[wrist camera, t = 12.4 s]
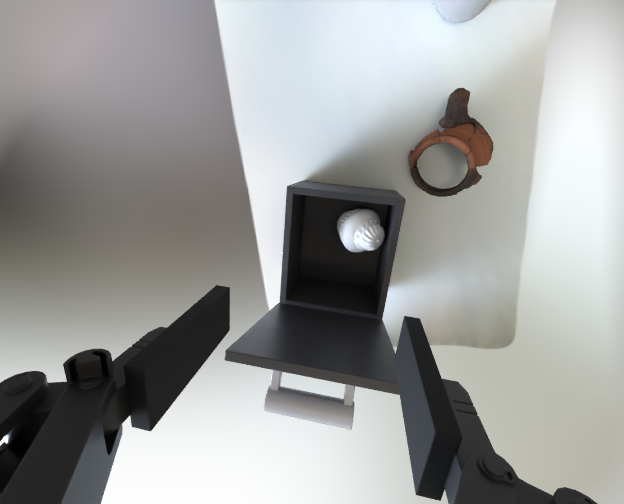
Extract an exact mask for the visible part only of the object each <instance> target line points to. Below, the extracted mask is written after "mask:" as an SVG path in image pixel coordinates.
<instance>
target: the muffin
mask: <svg viewBox="0 0 624 504" xmlns="http://www.w3.org/2000/svg"><path fill="white" fill-rule="evenodd" d="M337 230H338V233H339V236H340V239H341V241H342V242H343V244H344V246H345V247H346V248H347V249H348V250H349V251H351V252H363V251H365V250H368V251H370V250H375V249H377V248H379V247H380V245H381V244H382V241H384V239H383V238H384V237H385V235H384V233H385V232H384V230H383V227H381V226H380V218H379V216H378V215H377V214H376V213H375V212H374V211H373V210H370V209H355V210H351V211H347V212H344V213H343V214H342V215H341V216H340V217H339V219H338V221H337Z"/></svg>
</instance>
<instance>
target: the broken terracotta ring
mask: <svg viewBox="0 0 624 504" xmlns="http://www.w3.org/2000/svg"><path fill="white" fill-rule="evenodd" d="M469 96H470V92H469V91H468V90H466V89H464V88H458V89H456V90H455V91H454V92H453V93H452V94H451V95H450V97H449V99H448V104H447V108H446V113H445V116H444V118H442V119H441V120H440V121H439V125H440V126H441V127H442V128H444V129H446V130H444V131H443V132H441V133H440V132H439V130H438V129H436V130H434V131H433V132H431V133H430V134H429V135H427V136H426V137H424V138H423V139H422V140H421V141H420V143H418V145H417V146H416V147H415V149H414V150H412V151H410V155H409V166H410V171H411V176H412V178H413V180H414V181H415V183H416V185H417V186H418V187H419V188H420V189H422V190H423V191H426V192H427V193H428V194H430V195H434V196H439V197H446V196H452V195H456V194H457V193H458V192H460V191H462V190H463V189H466V188H469V187H471V186H472V185H475V184H477V183H478V182H479V181H480V179H481V177H482V176H481V175H479V173H478V172H477V170H476V167H477V166H483V165H488V163H489V161H490V160H491V155H492V151H493V142H492V140H491V138H490V136H489V134H488V133H487V132H486V130H485V129H484V128H483V126H482V125H481V124H480V123H479V122H477V121H476V120H475V119H474V118H470V117H469V115H468V108H467V105H468V101H469ZM438 143H448V144H452V145H454V146H456V147H458V148H459V149H460V150H461V151H462V152H463V153H464V155H465V156H466V159H467V162H468V171H467V174H466V176H465V178H464V179H463V181H462V182H461V183H460V184H458V185H457V186H455V187H452V188H448V189H438V188H435V187H432V186H430V185H429V184H427V183H426V182H425V181H424V180H423V179H422V178H421V176H420V174H419V171H418V168H417V159H419V157H420V156H421V154H422V153H423V151H424V150H425V149H427V148H428V147H430V146H432V145H434V144H438Z"/></svg>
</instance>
